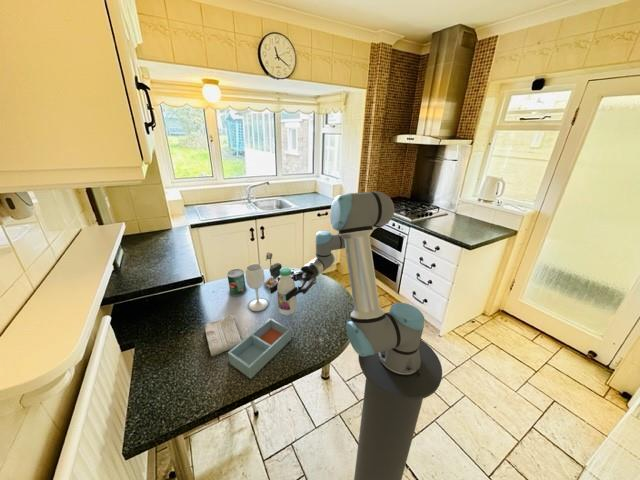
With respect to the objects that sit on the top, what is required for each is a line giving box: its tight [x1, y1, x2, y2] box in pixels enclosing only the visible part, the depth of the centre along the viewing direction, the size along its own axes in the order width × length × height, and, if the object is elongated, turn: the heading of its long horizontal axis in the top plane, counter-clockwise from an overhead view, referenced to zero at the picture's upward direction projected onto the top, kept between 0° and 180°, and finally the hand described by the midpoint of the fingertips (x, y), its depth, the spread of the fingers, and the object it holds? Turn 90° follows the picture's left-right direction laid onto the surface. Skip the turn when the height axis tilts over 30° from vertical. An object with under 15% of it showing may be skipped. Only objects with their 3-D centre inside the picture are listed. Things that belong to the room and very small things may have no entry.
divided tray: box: [227, 317, 292, 380], centre depth 96 cm, size 11×21×5 cm, turn 146°
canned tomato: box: [226, 268, 247, 297], centre depth 130 cm, size 8×8×11 cm
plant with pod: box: [264, 252, 283, 288], centre depth 135 cm, size 8×11×20 cm
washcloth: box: [204, 315, 242, 357], centre depth 103 cm, size 12×18×3 cm, turn 30°
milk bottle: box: [276, 266, 297, 316], centre depth 107 cm, size 8×8×20 cm
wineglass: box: [245, 263, 269, 312], centre depth 117 cm, size 9×9×21 cm
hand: (278, 294), depth 103 cm, fingers closed on milk bottle, 8 cm apart
